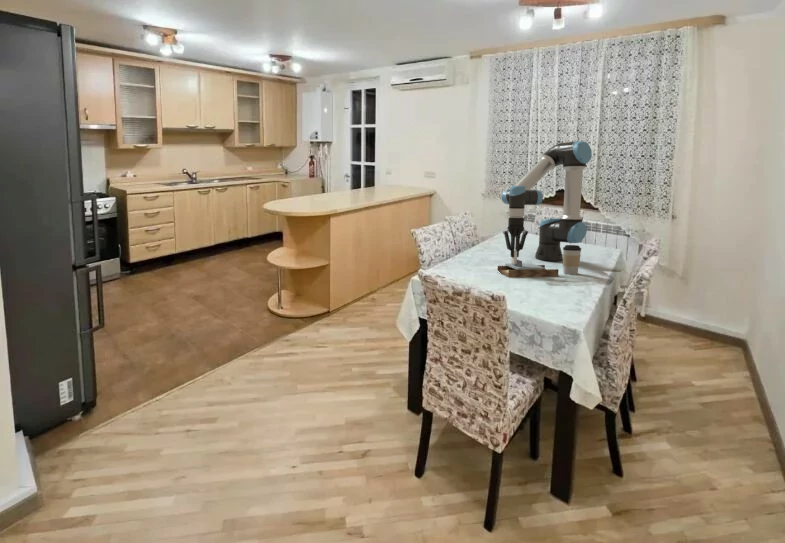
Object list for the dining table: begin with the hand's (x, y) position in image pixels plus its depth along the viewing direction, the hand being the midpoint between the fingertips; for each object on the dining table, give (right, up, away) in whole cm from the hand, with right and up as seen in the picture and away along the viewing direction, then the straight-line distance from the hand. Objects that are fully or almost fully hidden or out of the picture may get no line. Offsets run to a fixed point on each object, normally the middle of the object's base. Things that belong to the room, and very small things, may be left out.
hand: (514, 263), depth 244 cm
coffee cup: (+31, -5, +6) cm, 32 cm away
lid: (+5, -2, +1) cm, 6 cm away
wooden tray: (+7, -5, +2) cm, 9 cm away
